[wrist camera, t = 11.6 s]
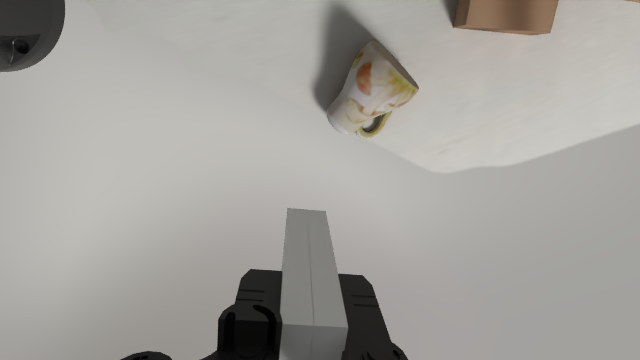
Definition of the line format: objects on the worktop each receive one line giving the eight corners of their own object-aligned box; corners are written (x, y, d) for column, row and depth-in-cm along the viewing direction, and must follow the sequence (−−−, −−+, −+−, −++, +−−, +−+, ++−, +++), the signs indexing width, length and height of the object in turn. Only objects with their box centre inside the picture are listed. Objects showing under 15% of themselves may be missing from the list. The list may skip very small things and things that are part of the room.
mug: (305, 111, 41) (327, 69, 32) (361, 63, 44) (396, 11, 34) (350, 159, 41) (385, 131, 32) (403, 108, 44) (449, 68, 35)
